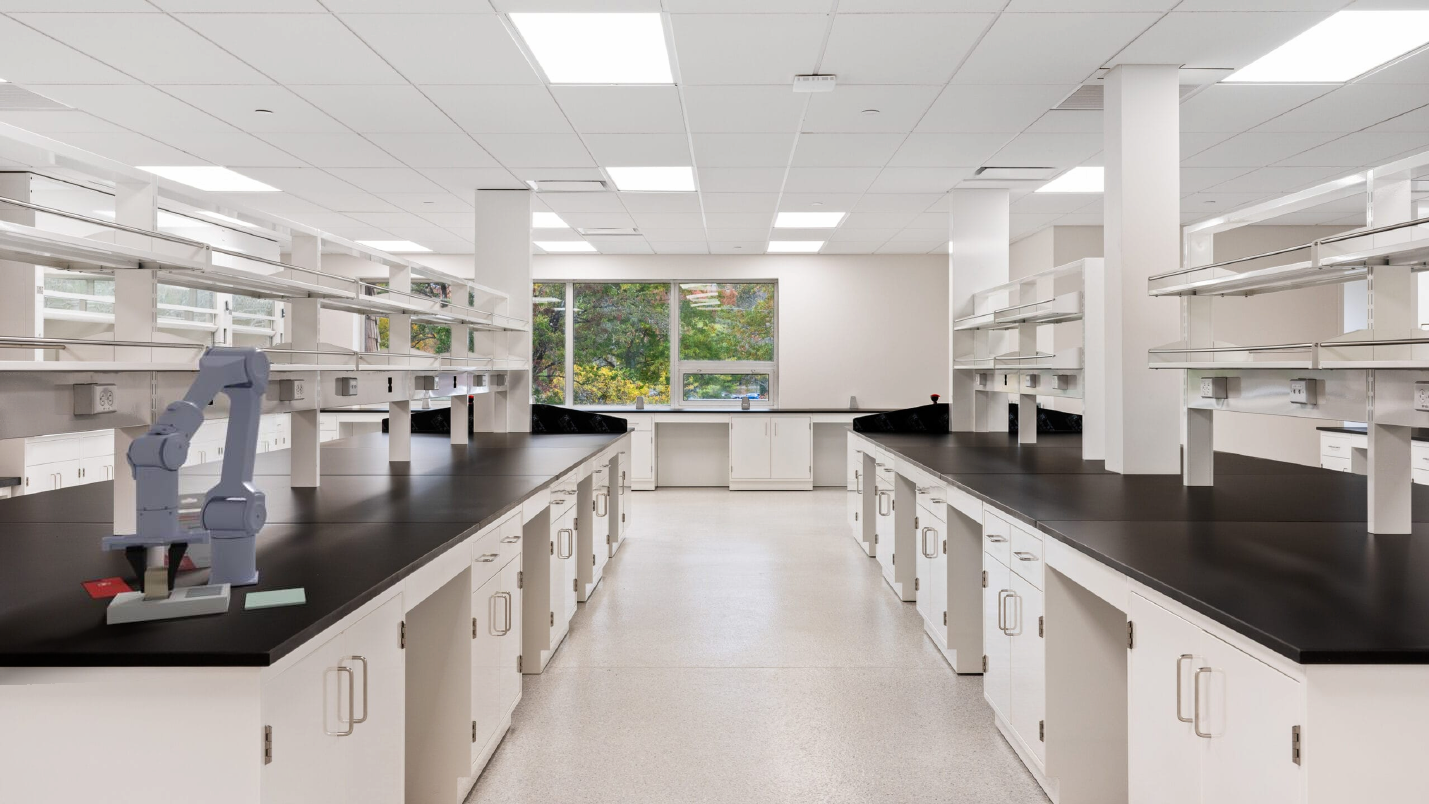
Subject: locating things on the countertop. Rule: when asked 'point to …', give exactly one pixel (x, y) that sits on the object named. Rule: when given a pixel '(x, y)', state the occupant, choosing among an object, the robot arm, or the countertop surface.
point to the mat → (274, 598)
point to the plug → (156, 583)
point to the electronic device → (106, 587)
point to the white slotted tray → (169, 604)
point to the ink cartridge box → (190, 522)
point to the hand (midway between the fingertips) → (157, 590)
